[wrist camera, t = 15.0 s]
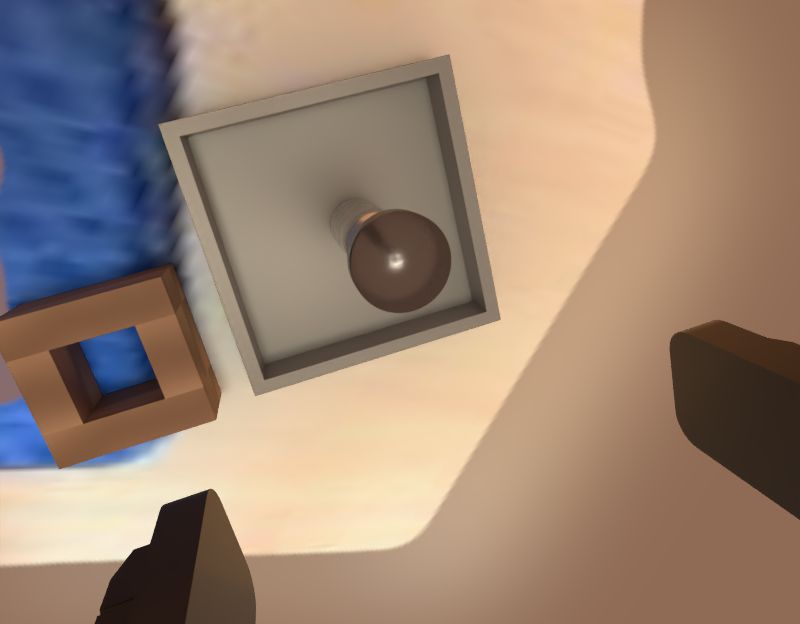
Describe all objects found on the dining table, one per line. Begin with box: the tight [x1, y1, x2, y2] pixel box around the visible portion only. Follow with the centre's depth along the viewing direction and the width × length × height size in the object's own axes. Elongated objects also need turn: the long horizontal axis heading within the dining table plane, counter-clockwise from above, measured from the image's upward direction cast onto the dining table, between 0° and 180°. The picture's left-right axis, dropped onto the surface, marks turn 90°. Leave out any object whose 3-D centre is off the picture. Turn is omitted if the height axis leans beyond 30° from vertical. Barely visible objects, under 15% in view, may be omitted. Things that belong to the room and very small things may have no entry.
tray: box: [158, 55, 501, 396], centre depth 35 cm, size 16×16×4 cm
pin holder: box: [0, 263, 221, 469], centre depth 34 cm, size 9×9×4 cm
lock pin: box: [330, 198, 451, 313], centre depth 30 cm, size 4×4×13 cm
